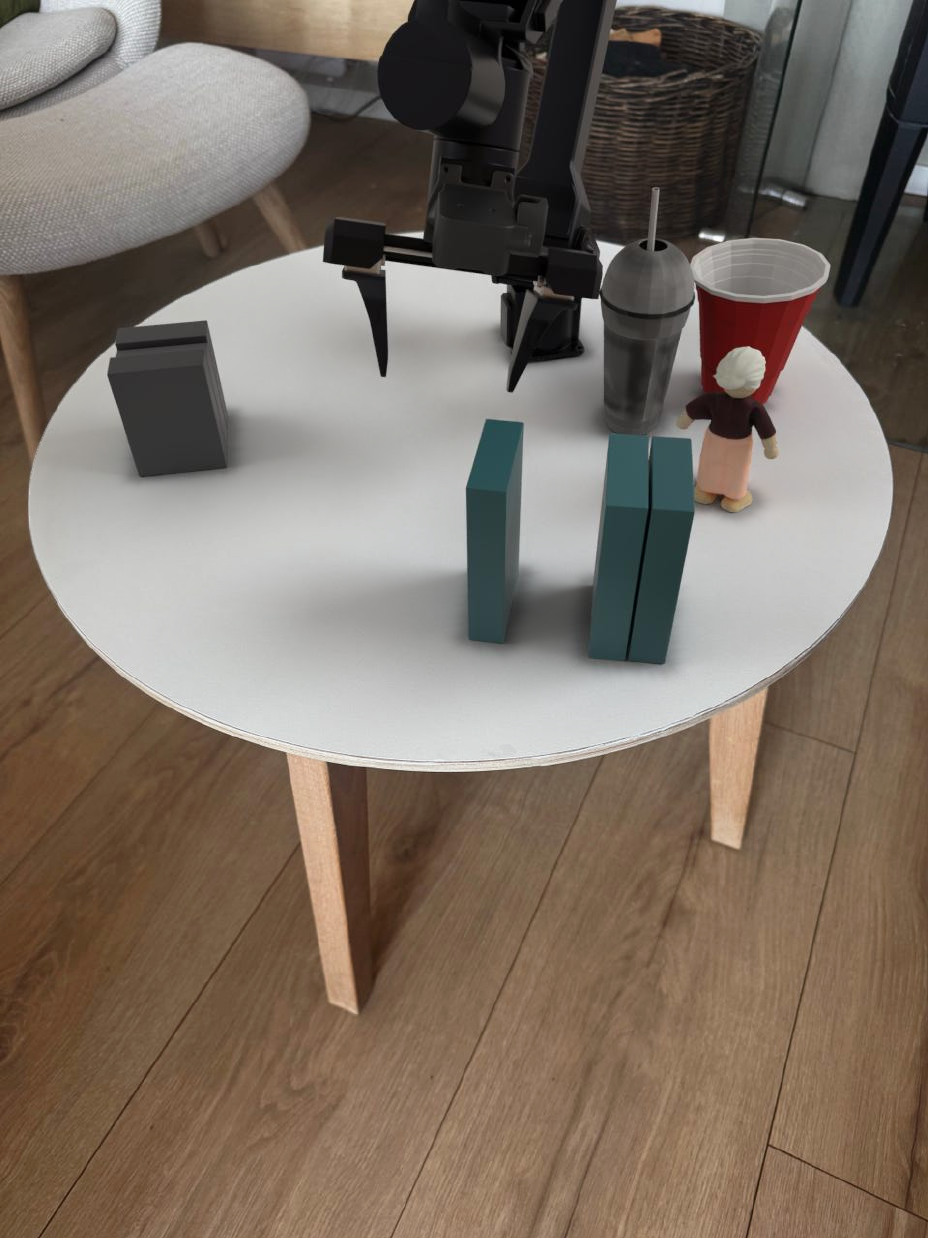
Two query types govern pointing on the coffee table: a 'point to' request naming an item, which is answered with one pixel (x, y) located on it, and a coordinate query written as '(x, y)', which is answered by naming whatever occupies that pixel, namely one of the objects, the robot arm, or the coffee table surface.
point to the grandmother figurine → (731, 430)
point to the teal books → (641, 546)
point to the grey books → (170, 397)
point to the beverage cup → (642, 327)
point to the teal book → (493, 529)
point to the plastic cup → (754, 302)
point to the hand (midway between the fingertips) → (446, 383)
